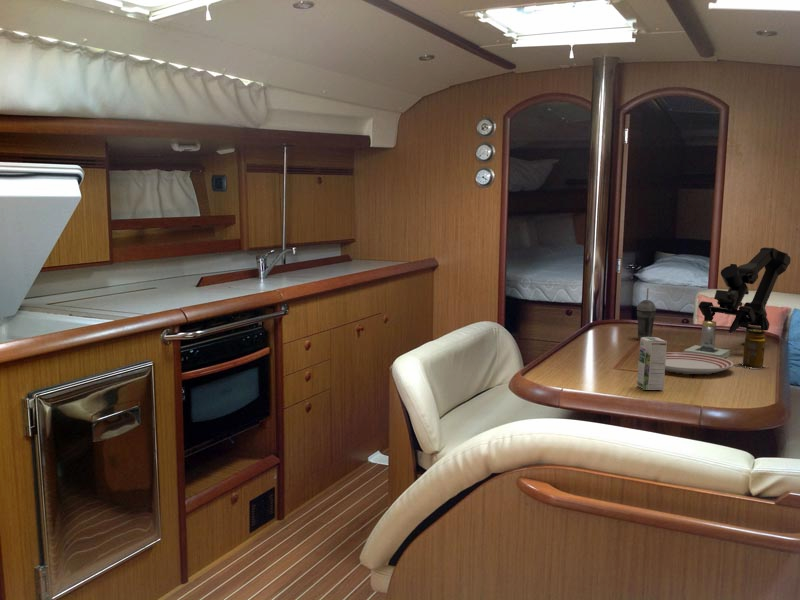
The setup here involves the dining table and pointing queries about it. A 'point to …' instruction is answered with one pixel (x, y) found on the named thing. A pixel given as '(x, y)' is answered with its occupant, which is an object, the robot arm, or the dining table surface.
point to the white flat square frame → (717, 352)
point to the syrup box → (651, 363)
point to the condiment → (753, 349)
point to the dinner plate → (695, 363)
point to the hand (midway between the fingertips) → (716, 330)
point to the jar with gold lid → (708, 336)
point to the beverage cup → (645, 317)
